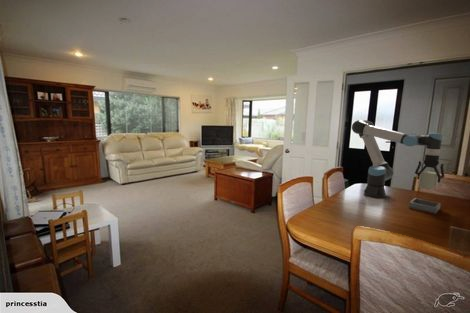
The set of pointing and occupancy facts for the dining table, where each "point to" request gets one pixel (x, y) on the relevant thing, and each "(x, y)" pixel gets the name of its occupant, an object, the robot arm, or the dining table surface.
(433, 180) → the can
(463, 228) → the dining table surface
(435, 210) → the tray
